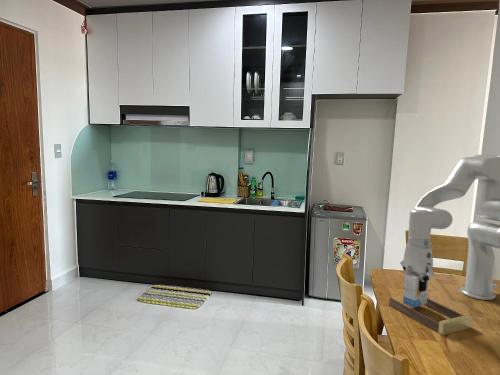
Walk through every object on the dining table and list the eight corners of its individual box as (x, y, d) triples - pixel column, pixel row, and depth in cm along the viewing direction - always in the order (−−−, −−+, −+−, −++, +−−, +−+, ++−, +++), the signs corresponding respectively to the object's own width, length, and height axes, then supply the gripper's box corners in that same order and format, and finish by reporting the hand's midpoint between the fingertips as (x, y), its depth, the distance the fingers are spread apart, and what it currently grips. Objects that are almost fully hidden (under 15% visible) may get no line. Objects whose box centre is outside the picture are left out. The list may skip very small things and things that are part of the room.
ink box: (414, 308, 129) (417, 270, 127) (402, 303, 133) (404, 266, 132) (427, 303, 134) (429, 266, 132) (415, 298, 138) (417, 262, 136)
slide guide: (415, 299, 141) (416, 290, 140) (471, 327, 119) (472, 316, 119) (389, 305, 135) (389, 295, 135) (442, 335, 114) (443, 323, 113)
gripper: (446, 247, 124) (442, 295, 126) (408, 235, 140) (405, 278, 142) (430, 248, 121) (427, 298, 123) (393, 237, 137) (391, 281, 139)
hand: (415, 287), depth 132 cm, fingers closed on ink box, 5 cm apart
